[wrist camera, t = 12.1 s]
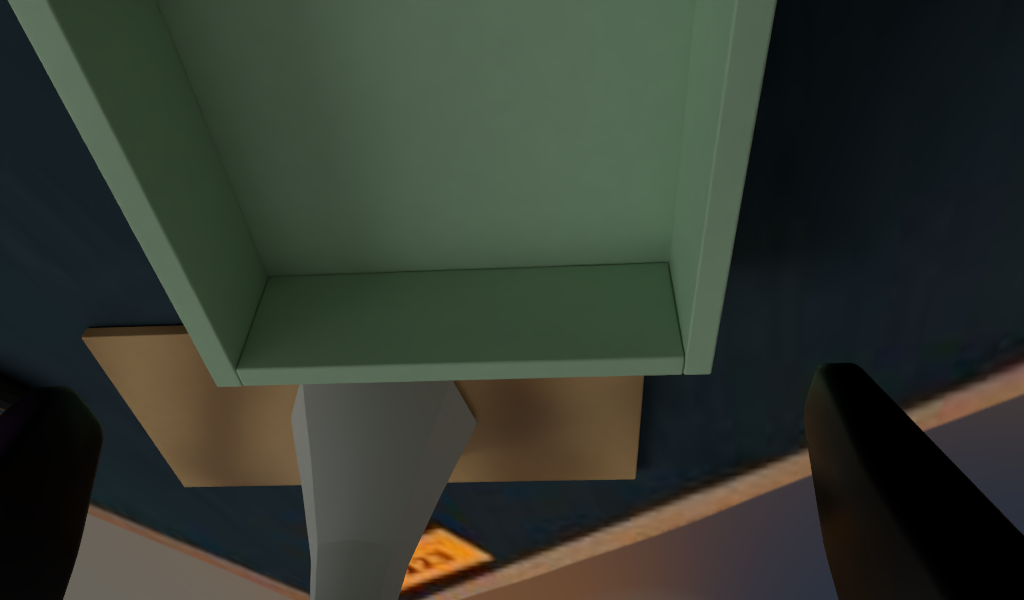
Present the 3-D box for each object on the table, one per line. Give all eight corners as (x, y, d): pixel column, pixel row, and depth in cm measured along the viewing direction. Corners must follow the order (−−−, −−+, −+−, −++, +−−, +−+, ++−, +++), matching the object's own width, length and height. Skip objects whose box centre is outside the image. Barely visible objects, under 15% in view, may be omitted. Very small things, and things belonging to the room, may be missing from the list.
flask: (478, 467, 33) (462, 726, 26) (308, 462, 33) (246, 719, 26) (476, 356, 28) (455, 640, 21) (274, 350, 28) (184, 633, 21)
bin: (761, -278, 15) (819, -227, 12) (690, 272, 25) (711, 374, 22) (37, -221, 16) (-81, -160, 13) (254, 287, 26) (217, 387, 23)
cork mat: (647, 309, 27) (648, 320, 26) (634, 469, 34) (636, 479, 33) (86, 327, 28) (80, 337, 28) (187, 477, 35) (184, 487, 35)
